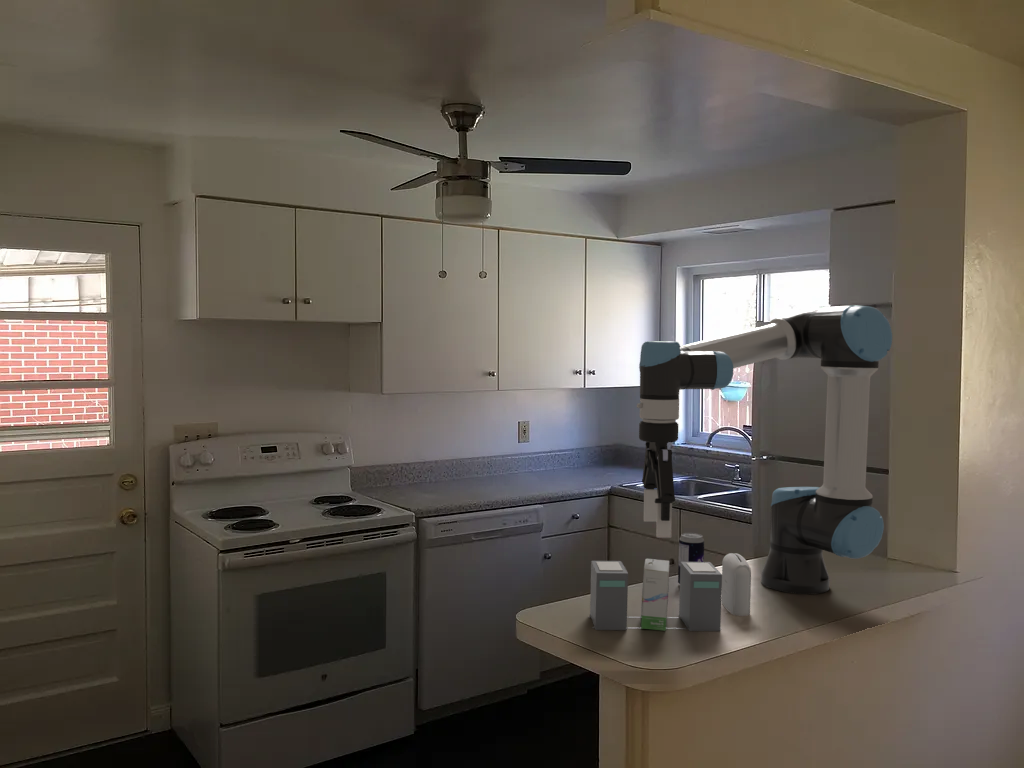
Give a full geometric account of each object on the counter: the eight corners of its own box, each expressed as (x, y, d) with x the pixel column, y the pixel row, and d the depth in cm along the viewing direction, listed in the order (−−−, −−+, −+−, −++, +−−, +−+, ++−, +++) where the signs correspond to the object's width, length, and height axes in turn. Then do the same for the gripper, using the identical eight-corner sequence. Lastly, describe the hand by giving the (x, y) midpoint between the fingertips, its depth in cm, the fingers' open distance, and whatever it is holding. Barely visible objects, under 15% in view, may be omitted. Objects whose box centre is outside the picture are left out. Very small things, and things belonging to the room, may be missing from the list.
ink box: (641, 615, 172) (643, 557, 172) (667, 617, 171) (669, 559, 171) (640, 629, 164) (641, 568, 163) (667, 631, 163) (669, 570, 162)
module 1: (619, 614, 172) (621, 560, 172) (626, 630, 163) (628, 572, 162) (590, 614, 172) (591, 559, 172) (595, 630, 163) (596, 572, 162)
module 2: (708, 615, 173) (710, 561, 172) (720, 631, 163) (722, 573, 163) (679, 615, 173) (680, 560, 172) (689, 631, 163) (691, 573, 163)
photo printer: (718, 605, 184) (720, 548, 183) (738, 605, 184) (740, 549, 183) (731, 621, 173) (733, 561, 173) (752, 621, 173) (754, 561, 173)
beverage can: (698, 591, 193) (700, 539, 193) (674, 587, 196) (675, 535, 196) (706, 585, 198) (707, 534, 198) (682, 581, 201) (683, 531, 200)
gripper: (629, 414, 178) (627, 515, 179) (651, 427, 153) (649, 544, 154) (665, 414, 178) (663, 515, 180) (693, 427, 153) (690, 544, 155)
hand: (656, 529), depth 167 cm, fingers open, 13 cm apart
